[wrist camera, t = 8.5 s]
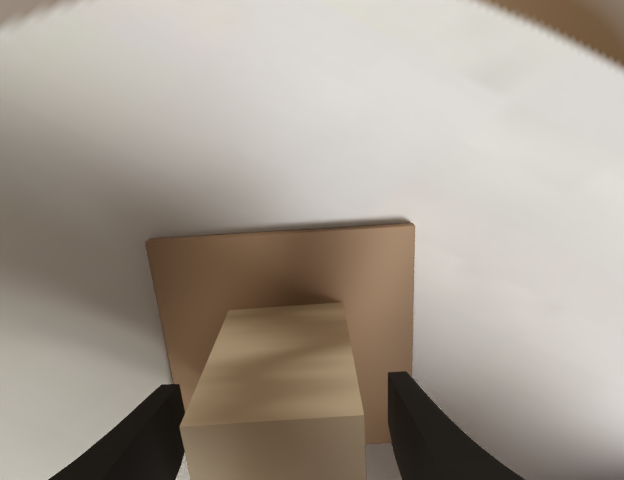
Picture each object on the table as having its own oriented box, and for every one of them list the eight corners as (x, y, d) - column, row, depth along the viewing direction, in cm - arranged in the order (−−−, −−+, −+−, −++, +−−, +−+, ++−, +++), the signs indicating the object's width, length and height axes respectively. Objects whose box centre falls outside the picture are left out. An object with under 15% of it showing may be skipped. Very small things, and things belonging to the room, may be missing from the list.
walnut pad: (412, 223, 14) (415, 225, 14) (408, 434, 17) (410, 441, 17) (149, 238, 15) (145, 242, 14) (190, 446, 18) (187, 453, 17)
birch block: (342, 302, 15) (364, 414, 9) (347, 397, 16) (369, 547, 11) (228, 310, 15) (179, 426, 9) (242, 404, 16) (207, 557, 11)
